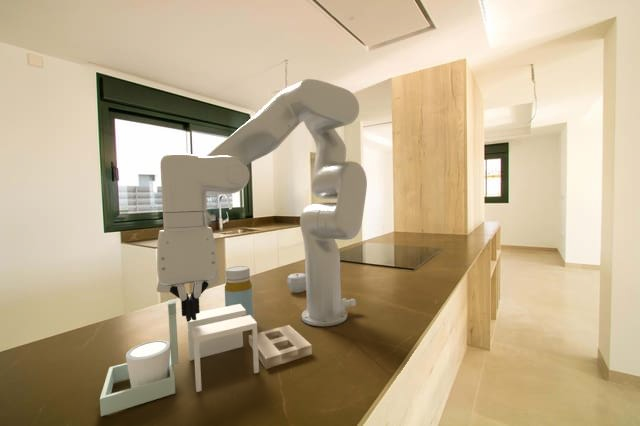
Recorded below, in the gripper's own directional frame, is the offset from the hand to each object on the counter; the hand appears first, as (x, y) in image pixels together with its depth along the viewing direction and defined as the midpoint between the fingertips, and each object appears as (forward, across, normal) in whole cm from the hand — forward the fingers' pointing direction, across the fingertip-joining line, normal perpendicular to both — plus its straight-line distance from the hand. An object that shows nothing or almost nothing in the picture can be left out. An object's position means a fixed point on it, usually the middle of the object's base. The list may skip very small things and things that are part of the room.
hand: (190, 318), depth 55 cm
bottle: (+11, -13, -18) cm, 25 cm away
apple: (+11, -38, -36) cm, 53 cm away
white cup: (+11, +7, 0) cm, 13 cm away
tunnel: (+11, -5, 0) cm, 12 cm away
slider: (+11, +8, 0) cm, 14 cm away
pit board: (+11, -17, 0) cm, 20 cm away
